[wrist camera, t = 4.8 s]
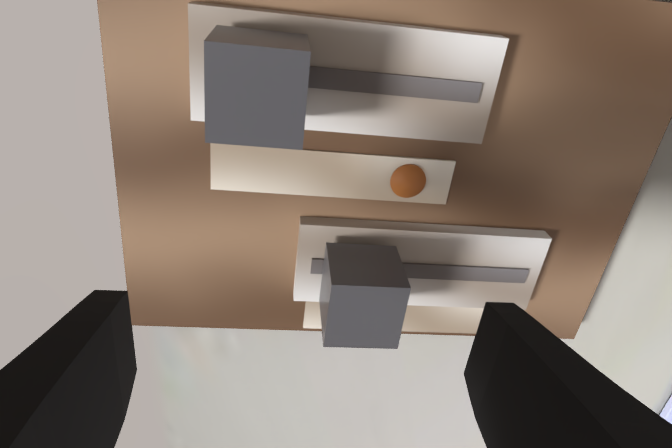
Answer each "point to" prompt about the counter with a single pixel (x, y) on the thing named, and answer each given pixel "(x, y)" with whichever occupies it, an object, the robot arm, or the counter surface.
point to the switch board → (388, 156)
